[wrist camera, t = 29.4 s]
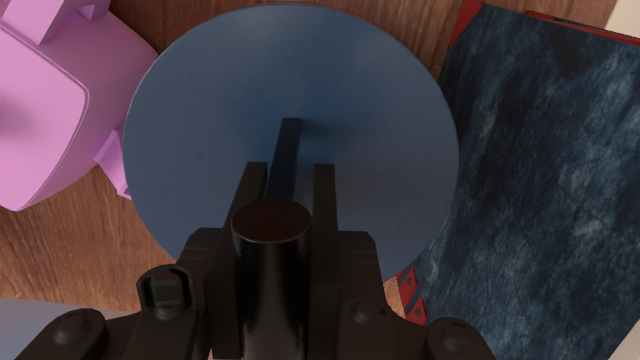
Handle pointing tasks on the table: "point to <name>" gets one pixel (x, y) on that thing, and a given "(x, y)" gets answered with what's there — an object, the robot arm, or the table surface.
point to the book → (538, 190)
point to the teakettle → (64, 95)
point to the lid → (289, 150)
